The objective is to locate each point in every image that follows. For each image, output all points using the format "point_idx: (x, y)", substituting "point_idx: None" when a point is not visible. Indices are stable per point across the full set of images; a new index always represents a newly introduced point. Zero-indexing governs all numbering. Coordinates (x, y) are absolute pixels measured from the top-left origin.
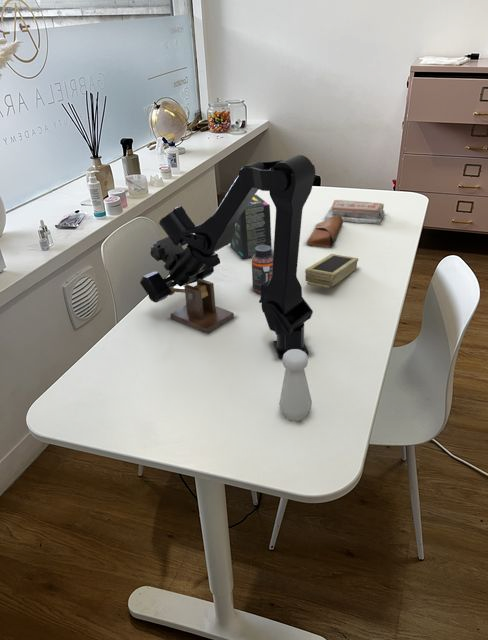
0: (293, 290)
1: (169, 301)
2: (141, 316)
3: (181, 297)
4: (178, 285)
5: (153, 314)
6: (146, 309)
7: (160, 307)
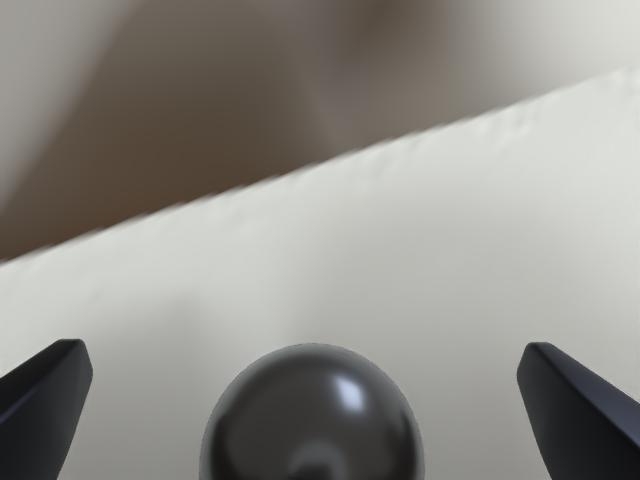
0: None
1: (352, 344)
2: (16, 348)
3: (468, 378)
4: (519, 367)
5: (97, 411)
6: (136, 288)
7: (228, 362)
